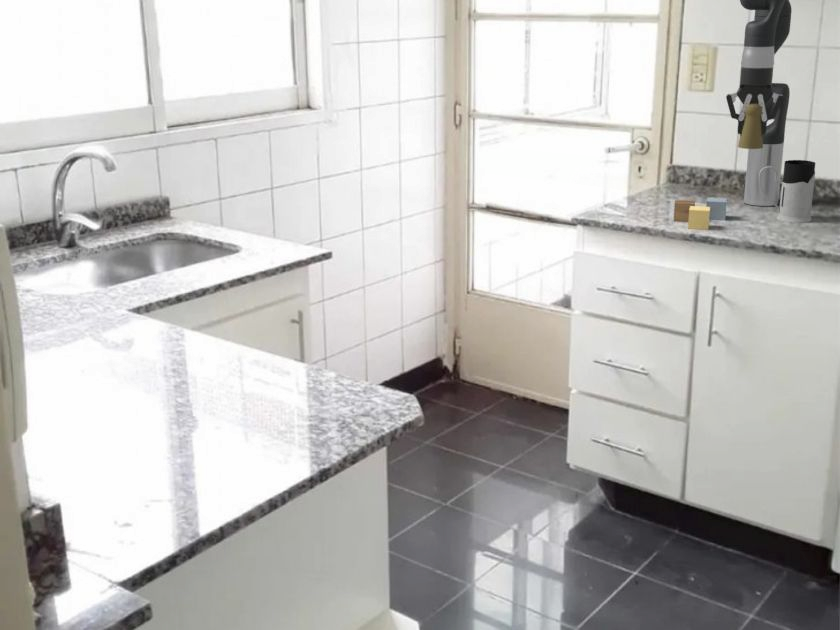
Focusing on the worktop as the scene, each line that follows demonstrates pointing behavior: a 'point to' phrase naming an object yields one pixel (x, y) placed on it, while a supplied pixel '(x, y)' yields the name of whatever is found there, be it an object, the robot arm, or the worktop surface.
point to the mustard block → (699, 217)
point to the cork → (752, 128)
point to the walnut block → (682, 209)
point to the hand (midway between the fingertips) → (751, 135)
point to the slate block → (717, 208)
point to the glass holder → (795, 191)
